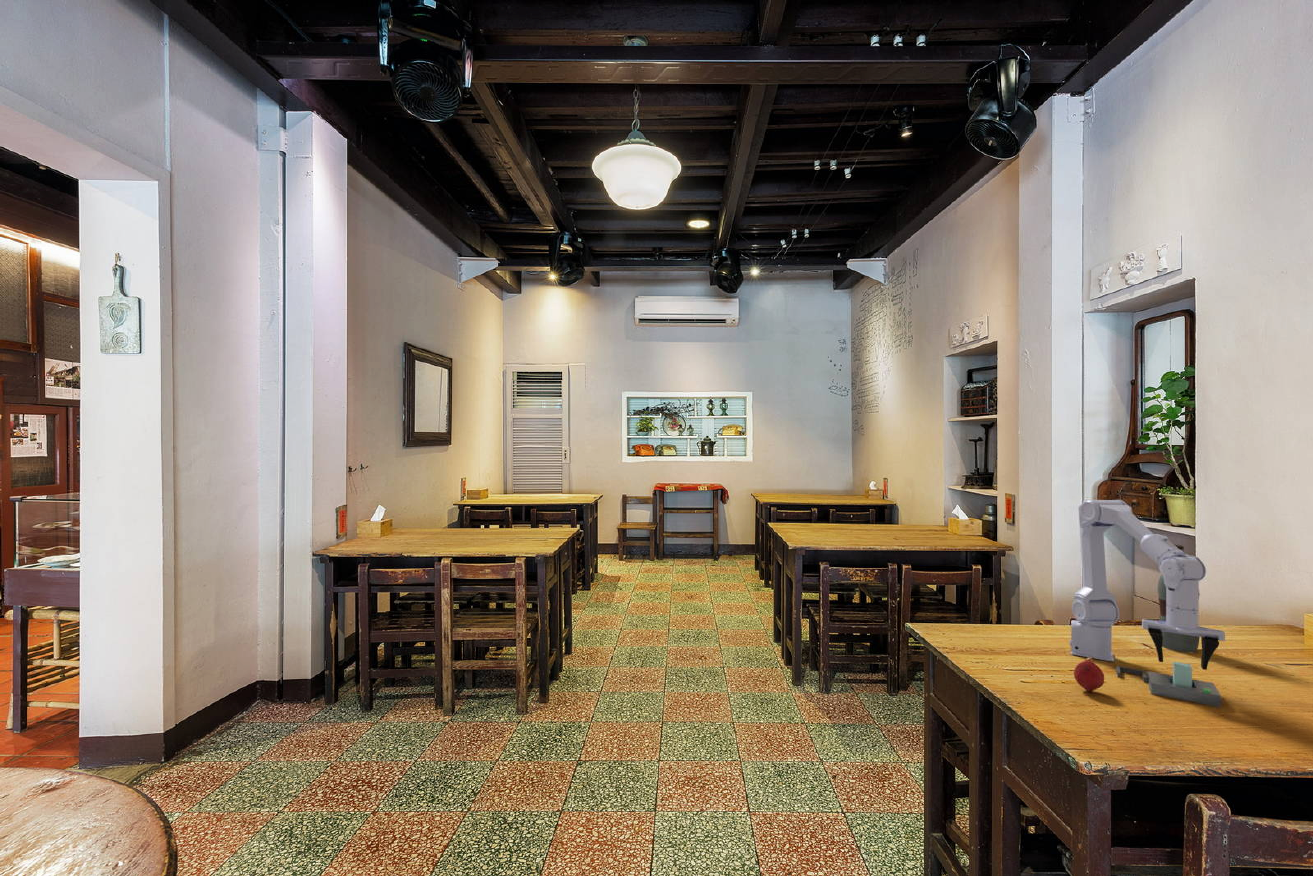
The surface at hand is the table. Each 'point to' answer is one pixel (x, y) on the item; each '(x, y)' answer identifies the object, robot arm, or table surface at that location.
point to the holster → (1131, 672)
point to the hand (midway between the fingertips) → (1181, 664)
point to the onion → (1089, 675)
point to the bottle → (1171, 639)
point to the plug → (1182, 674)
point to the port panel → (1184, 689)
